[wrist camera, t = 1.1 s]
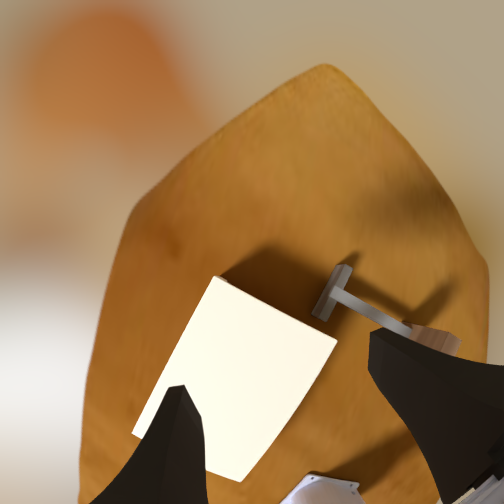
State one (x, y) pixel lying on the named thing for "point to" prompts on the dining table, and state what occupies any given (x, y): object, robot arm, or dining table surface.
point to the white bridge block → (240, 374)
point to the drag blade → (379, 314)
